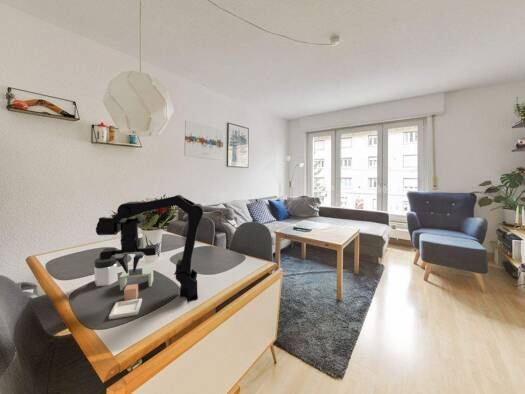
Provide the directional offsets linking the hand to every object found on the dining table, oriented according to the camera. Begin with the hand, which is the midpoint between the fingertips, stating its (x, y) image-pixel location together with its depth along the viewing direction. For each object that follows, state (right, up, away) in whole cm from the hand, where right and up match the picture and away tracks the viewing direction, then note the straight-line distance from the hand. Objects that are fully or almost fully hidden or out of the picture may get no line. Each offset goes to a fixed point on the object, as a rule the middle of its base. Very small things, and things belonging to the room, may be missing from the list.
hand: (130, 272), depth 86 cm
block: (0, -11, +1) cm, 11 cm away
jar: (-20, -11, +14) cm, 26 cm away
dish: (+2, -12, -6) cm, 13 cm away
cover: (-4, -10, +12) cm, 16 cm away
